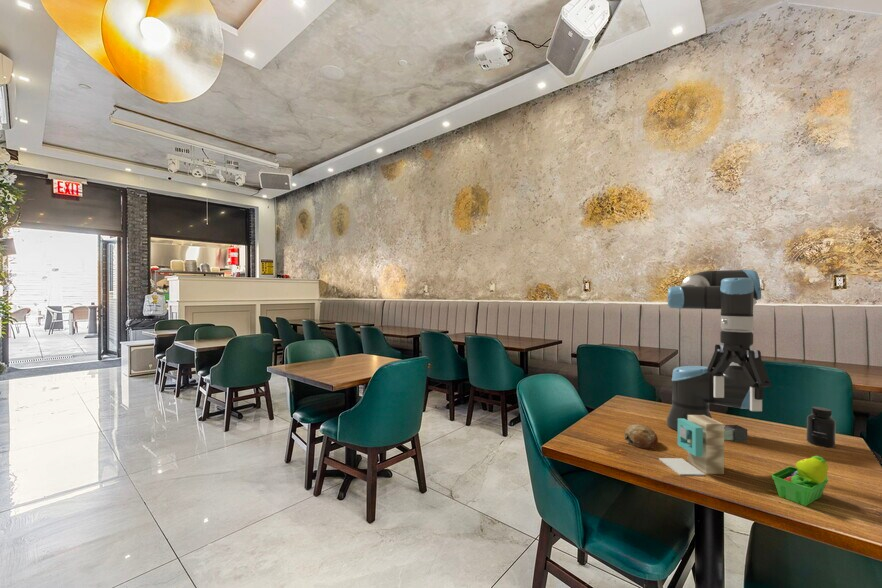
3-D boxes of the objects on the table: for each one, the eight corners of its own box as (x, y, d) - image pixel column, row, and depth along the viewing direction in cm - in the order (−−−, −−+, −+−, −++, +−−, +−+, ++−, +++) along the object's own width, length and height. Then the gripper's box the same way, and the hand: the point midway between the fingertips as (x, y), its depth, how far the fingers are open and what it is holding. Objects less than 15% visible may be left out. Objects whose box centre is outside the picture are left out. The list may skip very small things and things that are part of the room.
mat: (658, 459, 113) (658, 458, 113) (681, 459, 113) (681, 458, 113) (679, 475, 103) (679, 473, 103) (705, 475, 103) (705, 474, 103)
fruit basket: (789, 484, 99) (790, 442, 99) (836, 500, 91) (837, 454, 91) (769, 495, 93) (770, 450, 93) (817, 513, 86) (818, 464, 86)
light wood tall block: (706, 473, 104) (706, 424, 104) (687, 461, 112) (687, 414, 112) (723, 474, 104) (724, 424, 104) (703, 461, 112) (704, 414, 112)
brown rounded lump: (621, 449, 130) (614, 429, 129) (641, 433, 133) (634, 414, 132) (647, 461, 121) (639, 440, 119) (667, 443, 124) (659, 423, 123)
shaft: (686, 441, 107) (686, 428, 107) (678, 436, 110) (678, 424, 110) (747, 441, 106) (747, 429, 106) (737, 437, 110) (737, 424, 110)
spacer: (677, 444, 112) (677, 418, 112) (684, 444, 112) (684, 418, 112) (695, 456, 104) (695, 427, 104) (702, 456, 104) (702, 427, 104)
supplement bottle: (815, 446, 124) (815, 410, 124) (801, 439, 130) (801, 404, 130) (841, 449, 122) (841, 412, 122) (826, 441, 128) (826, 406, 128)
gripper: (694, 327, 121) (694, 392, 121) (760, 334, 96) (759, 417, 96) (717, 327, 121) (717, 392, 121) (789, 335, 96) (789, 417, 96)
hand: (736, 403), depth 108 cm, fingers open, 13 cm apart
